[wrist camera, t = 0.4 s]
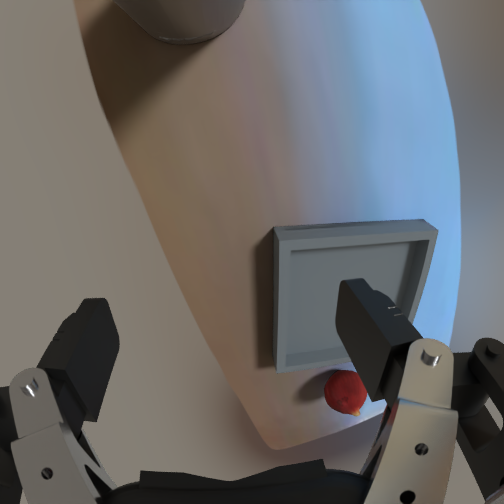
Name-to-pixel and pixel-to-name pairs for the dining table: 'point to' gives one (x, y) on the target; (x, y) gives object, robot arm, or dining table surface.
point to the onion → (345, 392)
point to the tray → (332, 273)
